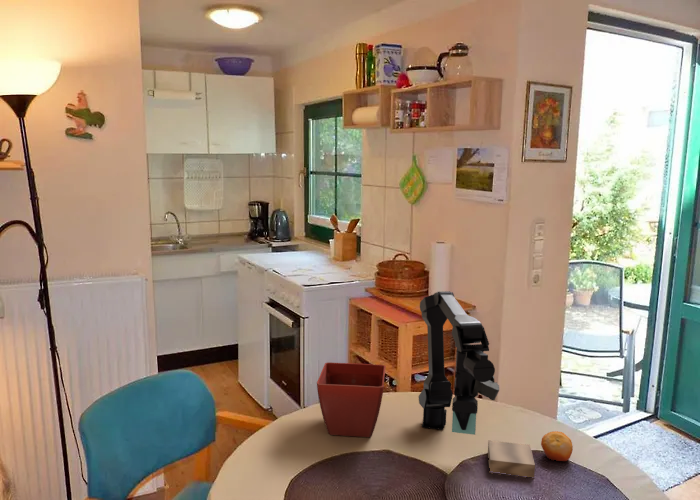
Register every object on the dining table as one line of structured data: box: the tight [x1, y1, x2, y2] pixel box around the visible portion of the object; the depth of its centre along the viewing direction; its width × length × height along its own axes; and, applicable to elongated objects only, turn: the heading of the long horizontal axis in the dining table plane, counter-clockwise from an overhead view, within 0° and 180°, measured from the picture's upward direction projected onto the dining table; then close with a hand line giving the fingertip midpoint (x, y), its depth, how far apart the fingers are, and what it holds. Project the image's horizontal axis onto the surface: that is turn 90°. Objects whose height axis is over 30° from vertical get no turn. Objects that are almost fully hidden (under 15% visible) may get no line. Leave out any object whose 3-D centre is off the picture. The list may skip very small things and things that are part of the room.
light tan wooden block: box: [487, 440, 536, 478], centre depth 148 cm, size 11×11×4 cm
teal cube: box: [451, 411, 477, 436], centre depth 148 cm, size 6×6×6 cm
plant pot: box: [316, 362, 387, 438], centre depth 168 cm, size 19×19×17 cm
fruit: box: [540, 430, 574, 462], centre depth 153 cm, size 8×8×8 cm
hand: (463, 424), depth 149 cm, fingers closed on teal cube, 6 cm apart
